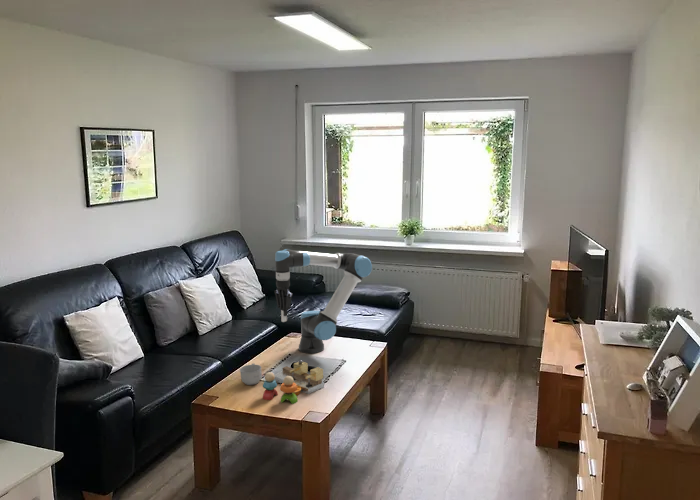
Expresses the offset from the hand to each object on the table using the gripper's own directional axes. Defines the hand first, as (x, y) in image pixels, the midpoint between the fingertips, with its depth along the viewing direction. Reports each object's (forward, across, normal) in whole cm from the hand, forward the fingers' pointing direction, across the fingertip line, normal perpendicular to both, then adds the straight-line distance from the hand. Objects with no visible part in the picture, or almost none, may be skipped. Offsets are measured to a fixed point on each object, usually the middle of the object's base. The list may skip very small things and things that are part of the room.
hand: (284, 321), depth 312 cm
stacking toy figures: (+25, +31, -30) cm, 50 cm away
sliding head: (+21, +25, -14) cm, 36 cm away
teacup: (+25, +6, -28) cm, 38 cm away
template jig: (+24, +26, -14) cm, 38 cm away
